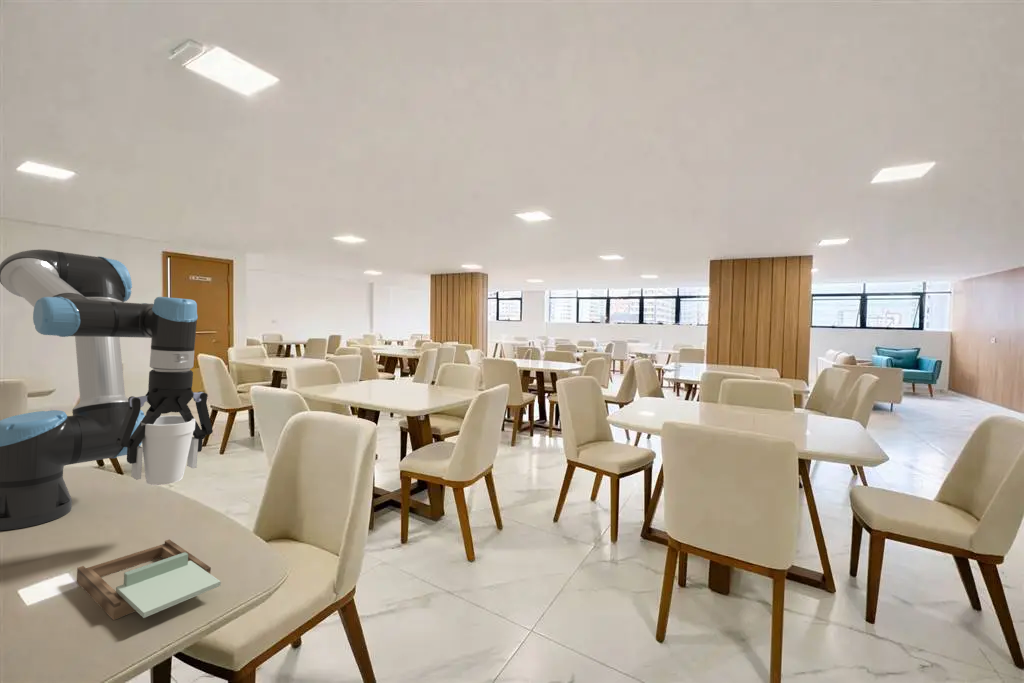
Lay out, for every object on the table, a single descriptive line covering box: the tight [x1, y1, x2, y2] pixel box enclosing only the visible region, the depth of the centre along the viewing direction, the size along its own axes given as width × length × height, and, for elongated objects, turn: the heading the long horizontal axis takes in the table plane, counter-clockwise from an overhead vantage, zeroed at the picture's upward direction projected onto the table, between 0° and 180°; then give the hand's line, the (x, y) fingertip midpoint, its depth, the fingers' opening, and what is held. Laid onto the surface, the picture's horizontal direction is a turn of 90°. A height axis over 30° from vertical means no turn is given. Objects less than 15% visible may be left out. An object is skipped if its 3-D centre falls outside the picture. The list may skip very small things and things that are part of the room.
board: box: [76, 539, 212, 621], centre depth 81 cm, size 17×14×3 cm
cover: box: [115, 552, 222, 619], centre depth 76 cm, size 11×11×3 cm
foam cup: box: [140, 415, 197, 486], centre depth 96 cm, size 10×9×13 cm
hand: (165, 471), depth 96 cm, fingers closed on foam cup, 9 cm apart
